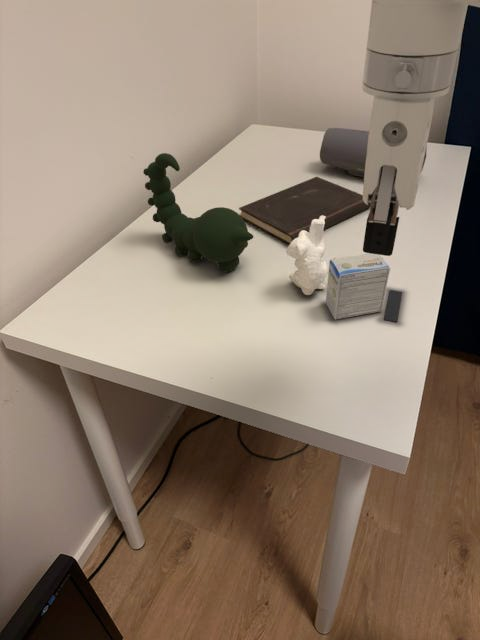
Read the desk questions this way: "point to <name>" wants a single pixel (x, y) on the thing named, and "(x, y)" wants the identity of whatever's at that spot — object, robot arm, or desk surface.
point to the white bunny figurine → (309, 258)
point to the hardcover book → (302, 208)
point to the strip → (393, 306)
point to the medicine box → (356, 285)
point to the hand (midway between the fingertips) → (377, 250)
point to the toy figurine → (195, 222)
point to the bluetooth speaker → (346, 150)
